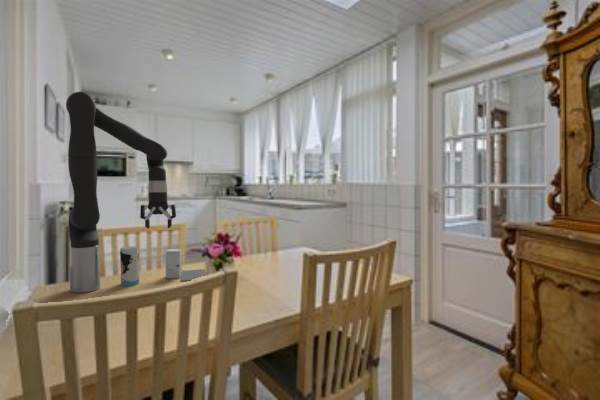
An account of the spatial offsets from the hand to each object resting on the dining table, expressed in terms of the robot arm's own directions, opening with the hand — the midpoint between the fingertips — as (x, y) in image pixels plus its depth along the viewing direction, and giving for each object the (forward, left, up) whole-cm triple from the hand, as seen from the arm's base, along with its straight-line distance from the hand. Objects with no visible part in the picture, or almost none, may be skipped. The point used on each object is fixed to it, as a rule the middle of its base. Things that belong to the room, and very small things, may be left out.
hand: (158, 228), depth 145 cm
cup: (-11, -6, -22) cm, 25 cm away
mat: (+15, -1, -22) cm, 27 cm away
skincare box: (+6, -1, -22) cm, 23 cm away
